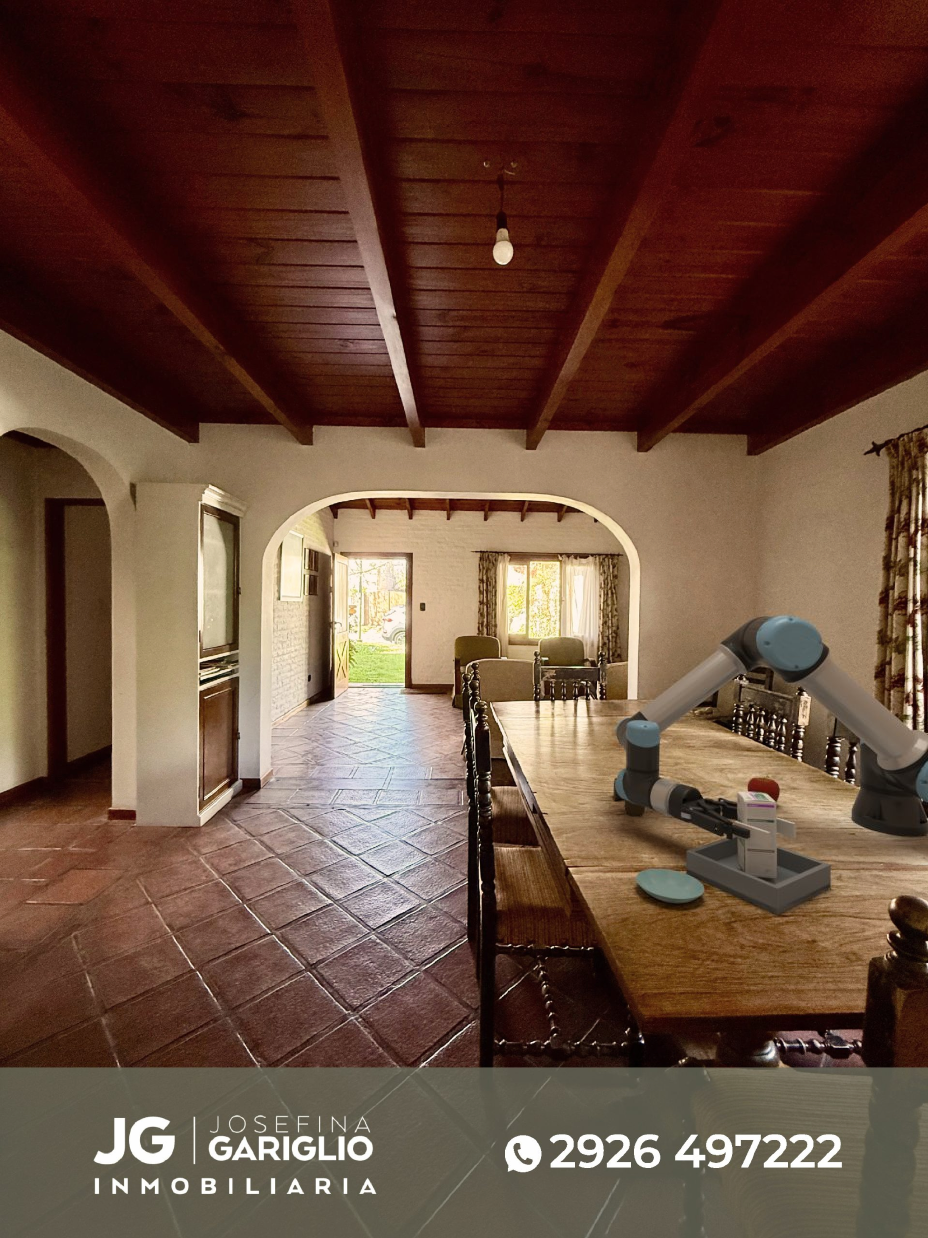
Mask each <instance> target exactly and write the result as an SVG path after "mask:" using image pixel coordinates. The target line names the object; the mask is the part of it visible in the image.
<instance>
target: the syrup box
mask: <svg viewBox="0 0 928 1238" xmlns="http://www.w3.org/2000/svg"><path fill="white" fill-rule="evenodd" d="M736 797H737V799H736V800H737V801H736V802H737V821H738V822H741V823H744V824H747V825H750V826H753V827H756V828H759V829H762V830H765V831H768V832H770V847H769V848H767V847H764V846H761V845H758V844H756V843H753V842H750V841H747V840H744V839H742V838H739V837H737V856H738V862H737V863H738V864H739V866H740V867H741V869H742V870H743V872H745V873H747V874H749V875H752V876H754V877H765V878H777V846H778V845H777V844H778V839H777V837H778V836H777V835H778V833H777V827H776V817H777V802H775V801H774V800H773V799H772V798H771V797H770V796H769V795H768V794H767V793H761V792H748V791H737V794H736Z"/></svg>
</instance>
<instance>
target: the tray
mask: <svg viewBox="0 0 928 1238" xmlns="http://www.w3.org/2000/svg"><path fill="white" fill-rule="evenodd" d="M685 855H686V857H685V858H686V862H685V864H686V865H685V866H686V871H685V872H686V873H685V874H687V875H689V876H692V877H693V878H695V879H697V880H698V881H701V882H704V883H705V884H708V885H710V886H712V887H714V888H717V889H719V890H721V891H724V892H726V893H727V894H730V895H732V896H734V897H737V898H738V899H741V900H743V901H745V902H748V903H750V904H751V905H755V906H757V907H758V908H761V909H763V910H765V911H767V912H770V913H772V914H774V915H776V916H778V915H780V914H782V913H784V912H787V911H789V910H791V909H793V908H795V907H797V906H799V905H801V904H803V903H804V902H806V901H809V900H811V899H813V898H815V897H817V896H818V895H820V894H822V893H825V892H826V891H829V890H831V888H832V887H831V886H832V885H831V884H832V883H831V882H832V881H831V879H832V872H831V871H832V865H831V864H830V863H828V862H824V861H822V860H819V859H816V858H813V857H810V856H808V855H805V854H801V853H798V852H795V851H794V850H791V849H787V848H784V847H781V846H779V845H777V878H765V877H754V876H752V875H749V874H747V873H745V872H743V870H742V869H741V867H740V866H739V864H738V863H737V862H738V856H737V837H736V836H734V835H733V839H732V840H730V839H726V837H725V838H721V839H719V840H716V841H713V842H709V843H706V844H703V845H701V846H698V847H695V848H694V847H693V848H691V849H689V850H686V853H685Z"/></svg>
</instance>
